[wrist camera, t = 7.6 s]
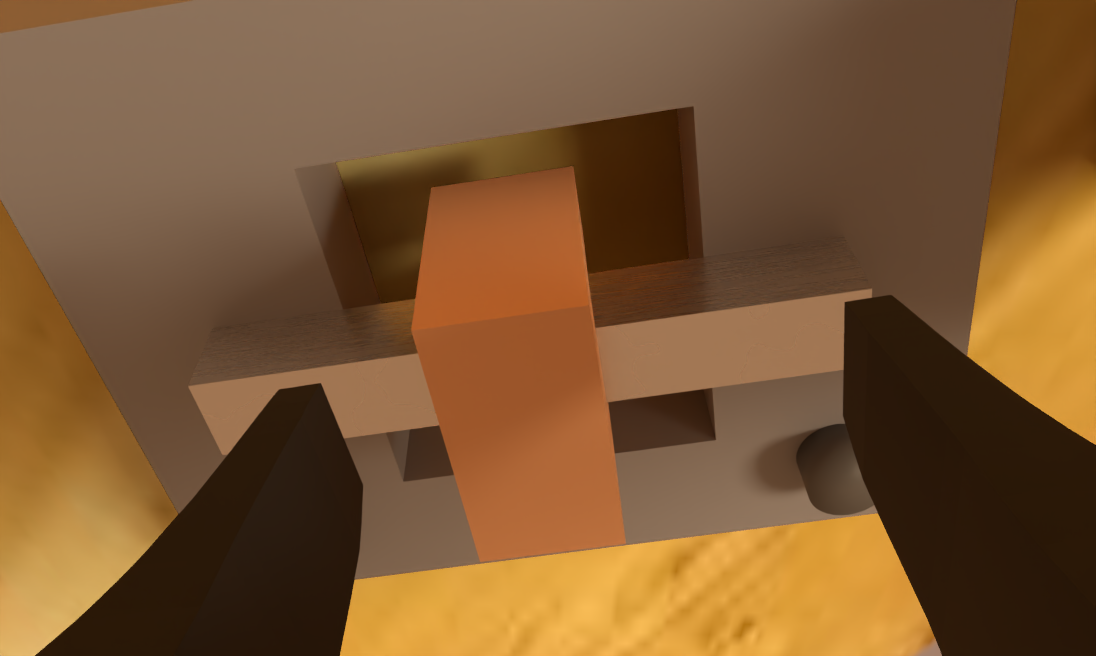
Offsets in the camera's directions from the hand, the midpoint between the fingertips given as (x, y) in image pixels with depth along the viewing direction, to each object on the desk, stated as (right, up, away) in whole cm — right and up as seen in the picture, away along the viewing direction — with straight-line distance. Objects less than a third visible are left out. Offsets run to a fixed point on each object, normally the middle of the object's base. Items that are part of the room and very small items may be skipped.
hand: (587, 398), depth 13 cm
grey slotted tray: (-1, +3, +11) cm, 11 cm away
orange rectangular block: (-1, +2, +8) cm, 9 cm away
